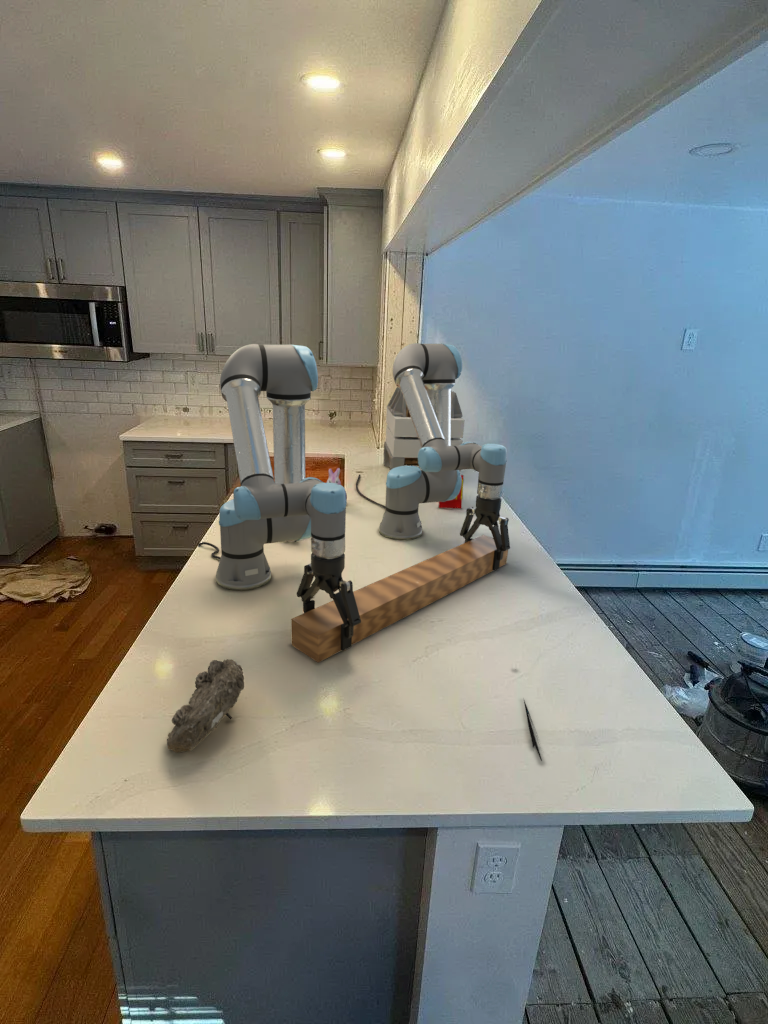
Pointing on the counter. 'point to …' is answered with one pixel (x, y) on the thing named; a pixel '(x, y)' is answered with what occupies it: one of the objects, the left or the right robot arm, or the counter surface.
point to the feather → (532, 731)
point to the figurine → (334, 477)
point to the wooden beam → (395, 597)
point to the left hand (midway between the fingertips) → (327, 636)
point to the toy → (454, 500)
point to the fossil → (206, 705)
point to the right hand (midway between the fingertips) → (481, 563)
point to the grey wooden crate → (412, 432)
